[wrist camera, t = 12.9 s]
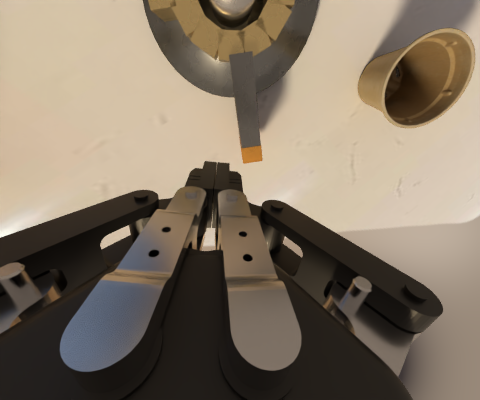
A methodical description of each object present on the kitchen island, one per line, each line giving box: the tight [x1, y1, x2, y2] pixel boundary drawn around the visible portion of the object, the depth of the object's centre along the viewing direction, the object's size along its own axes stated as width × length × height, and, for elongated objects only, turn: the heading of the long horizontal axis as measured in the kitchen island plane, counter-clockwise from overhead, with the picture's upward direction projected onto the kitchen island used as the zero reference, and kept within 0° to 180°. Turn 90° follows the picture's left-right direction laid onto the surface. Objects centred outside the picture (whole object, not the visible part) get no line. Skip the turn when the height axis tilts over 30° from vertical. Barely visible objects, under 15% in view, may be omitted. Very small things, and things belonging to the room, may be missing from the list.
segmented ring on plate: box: [148, 0, 295, 164], centre depth 23 cm, size 16×24×6 cm, turn 28°
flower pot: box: [358, 28, 475, 128], centre depth 26 cm, size 9×9×9 cm
